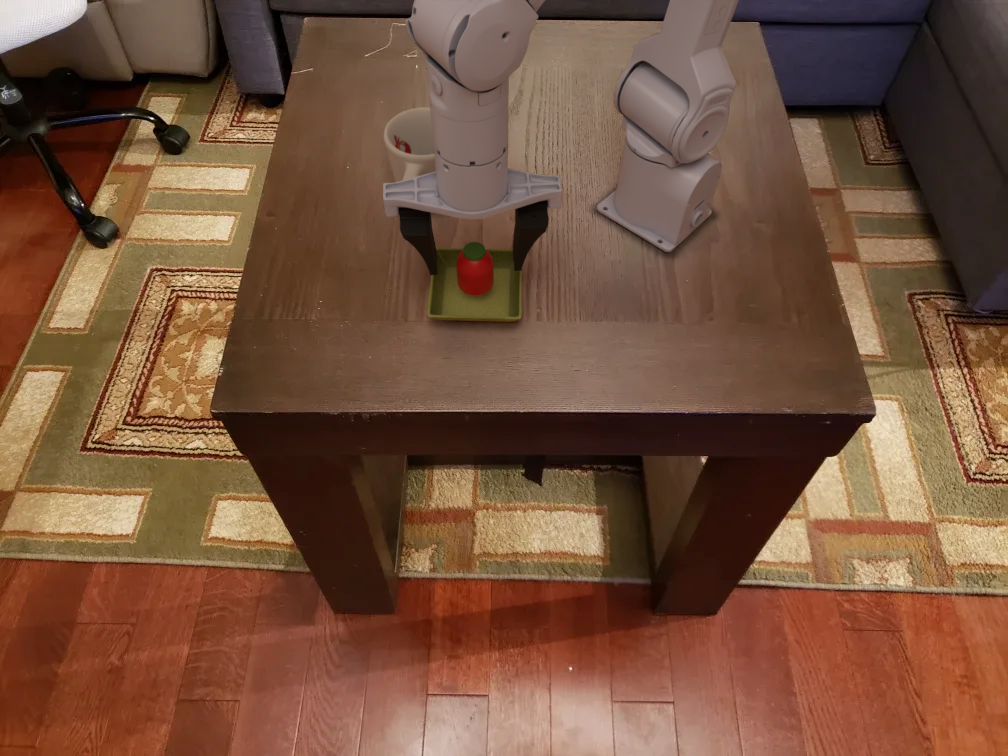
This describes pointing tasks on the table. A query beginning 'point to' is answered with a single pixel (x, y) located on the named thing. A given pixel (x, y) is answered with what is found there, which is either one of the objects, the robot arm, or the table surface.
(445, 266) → the green square tray
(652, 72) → the robot arm
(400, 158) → the cup
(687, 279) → the table surface
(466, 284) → the strawberry
